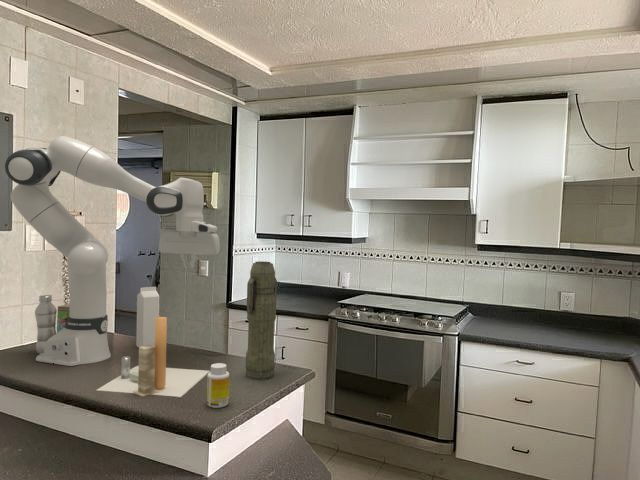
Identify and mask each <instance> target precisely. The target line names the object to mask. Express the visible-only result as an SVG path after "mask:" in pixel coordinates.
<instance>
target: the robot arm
mask: <svg viewBox="0 0 640 480" xmlns="http://www.w3.org/2000/svg"><path fill="white" fill-rule="evenodd" d="M4 169H5V173H6V175H7V177H8V178H9V179H10V180H11V181H12V182H14V183H15V184H17V185H16V186H14V188H13V189H12V191H11V193H10V201H11V203H12V204H13V206H14V207H15V209H16V210H17V211H18V213H19V214H20V215H21V216H22V217H23V219H24V220H25V221H26V222H27V223H28V224H29V225H30V226H31V227H32V228H33V229H34V230H35V231H36V232H37V233H38V234H39V235H40V236H41V237H42V238H43V239H44V240H45V241H46V242H47V243H48V244H50V245H51V246H52V247H53V248H54V249H56V250H57V251H58V252H59V253H61V254H62V255H63V256H64V257H65V258H66V259H67V277H68V290H69V304H70V305H69V316H68V317H67V318H65V319H62V320H64V321H62V322H61V323H64V322H65V325H64V328H63V329H61V330H60V331H59V332H57V331H56V334H55V335H53V336H52V337H51V338H49V339H48V340H47V342H46V344H45V349H44V353H42V354H37V356H36V358H35V361H36V362H41V363H46V364H47V363H48V364H53V363H54V365H60V366H68V367H73V366H79V365H85V364H93V363H98V362H102V361H106V360H108V359H110V358H111V356H112V354H111V352H110V349H109V342H108V325H109V324H108V323H109V322H108V321H109V319H108V318H109V317H108V314H107V297H108V296H107V294H108V293H107V291H108V290H107V262H108V259H109V253H108V250H107V247H106V246H105V245H103V243H102V242H101V241H100V240H99V239H98V238H97V237H95V235H93V233H92V232H90V231H89V229H87V228H86V227H85V226H84V225H83V224H82V223H81V222H80V221H79V220H78V219H76V218H75V216H73V214H71V212H70V211H69V210H68V209H67V208H66V207H65V206H64V204H63V203H61V202H60V201H59V200H58V199H57V198H56V197H55V196H54V195H53V193H52V192H51V190H50V187H51V186H53V184H54V182H55V181H56V179H58V177H59V175H60V174H61V172H63V173H67V174H69V175H71V176H73V177H75V178H77V179H79V180H81V181H83V182H86V183H88V184H92V185H95V186H97V187H98V186H99V187H103V188H109V189H113V190H117V191H119V192H120V191H121V192H123V193H125V194H128V195H130V196H132V197H134V198H136V199H138V200H140V201H141V202H144V203H145V204H146V205H147V208H148V209H149V210H150V211H151V212H152V213H153V214H155V215H157V216H160V217H164V218H168V217H172V216H174V215H175V225H164V226H162V227H161V228H159V237H160V238H159V243H158V251H159V252H160V253H161V254H177V255H180V259H181V260H182V263H183V268H184V269H186V268H187V269H188V268H189V269H194V267H195V262H196V261H197V259H198V255H201V256H204V255H205V256H217V255H218V254H219V253H220V250H221V247H220V246H221V244H220V237H219V234H218V233H217V232H218V227H217V226H216V225H213V224H211V223H209V222H206V221H204V214H203V208H204V205H205V195H204V194H205V192H204V187H203V184H202V182H200V180H198V179H195V178H193V177H186V176H181V177H179V178H177V179H176V180H173V181H172V182H169V183H165V184H163V185H160V186H159V185H158V186H154V185H152V184H150V183H147V182H146V181H144V180H142V179H140V178H138V177H136V176H135V175H134V174H131V173H130V172H129V171H127V170H125V169H124V168H123V166H121V165H120V164H119V163H118V162H116V161H115V159H114V158H112V157H110V156H109V155H108V154H106V153H105V152H103V151H102V150H100V149H98V148H96V147H95V146H92V145H90V144H88V143H86V142H84V141H81V140H78V139H76V138H73V137H71V136H70V137H69V136H67V135H61V136H57V137H55V138H54V139H52V141H51V142H50V144H49V146H48V147H47V148H45V147H29V148H26V149H20V150H17V151H15V152H13V153H11V154H10V155H9V156H8V157H7V159H6V161H5V163H4ZM188 255H190V258H191V260H190V261H188V260H187V257H188Z"/></svg>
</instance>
